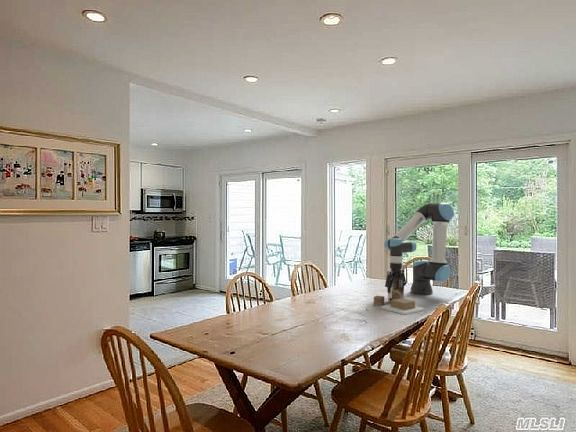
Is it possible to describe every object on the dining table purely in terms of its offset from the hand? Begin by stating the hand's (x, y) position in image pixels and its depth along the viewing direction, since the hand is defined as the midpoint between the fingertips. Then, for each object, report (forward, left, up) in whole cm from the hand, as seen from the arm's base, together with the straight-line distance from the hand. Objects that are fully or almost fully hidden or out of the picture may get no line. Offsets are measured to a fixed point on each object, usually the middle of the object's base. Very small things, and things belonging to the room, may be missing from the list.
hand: (395, 296), depth 253 cm
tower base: (+10, +14, -4) cm, 18 cm away
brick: (+13, -2, -4) cm, 14 cm away
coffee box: (0, 0, -4) cm, 4 cm away
